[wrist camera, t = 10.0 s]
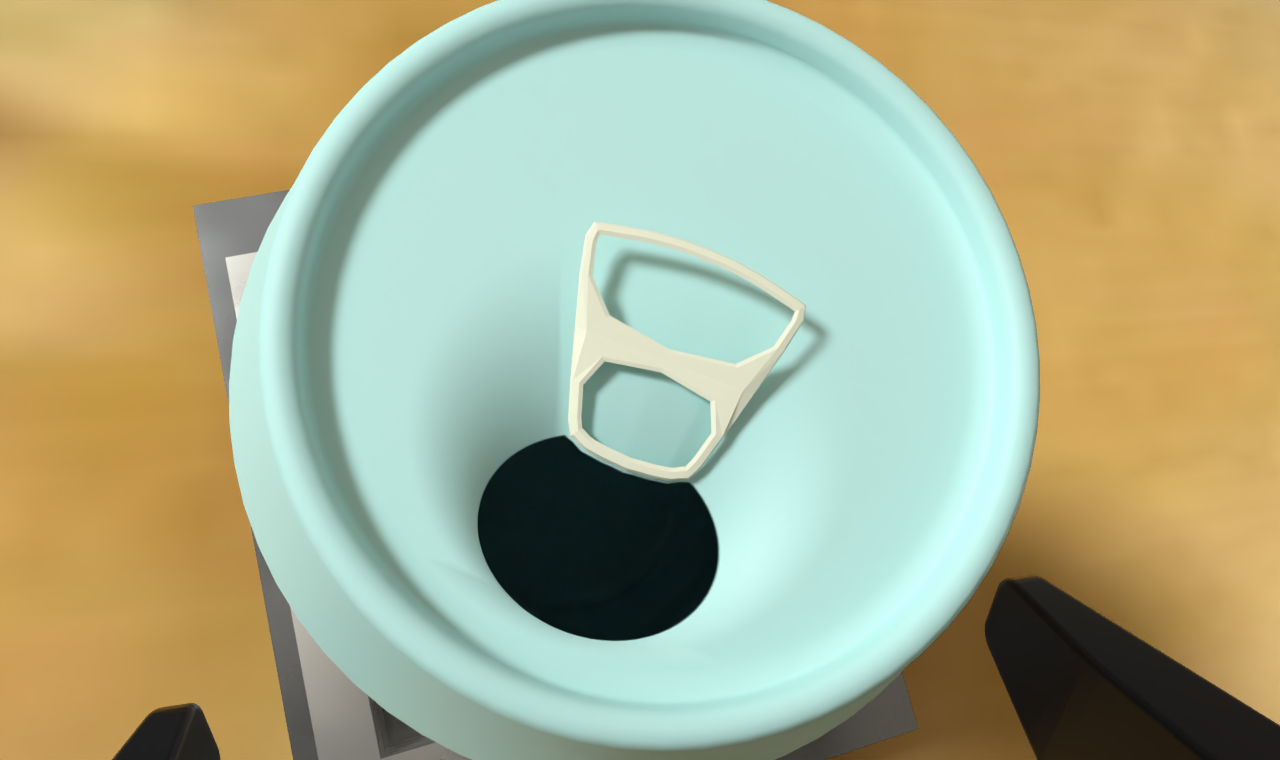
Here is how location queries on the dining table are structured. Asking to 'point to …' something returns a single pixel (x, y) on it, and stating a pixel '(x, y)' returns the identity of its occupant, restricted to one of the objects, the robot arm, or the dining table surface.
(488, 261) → the can
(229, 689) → the dining table surface
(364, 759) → the grey rectangular tray
